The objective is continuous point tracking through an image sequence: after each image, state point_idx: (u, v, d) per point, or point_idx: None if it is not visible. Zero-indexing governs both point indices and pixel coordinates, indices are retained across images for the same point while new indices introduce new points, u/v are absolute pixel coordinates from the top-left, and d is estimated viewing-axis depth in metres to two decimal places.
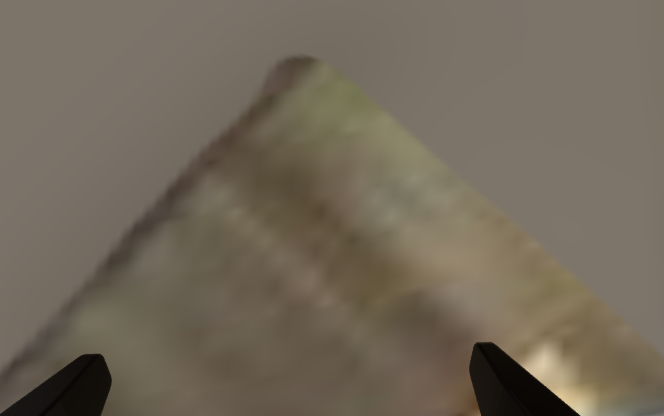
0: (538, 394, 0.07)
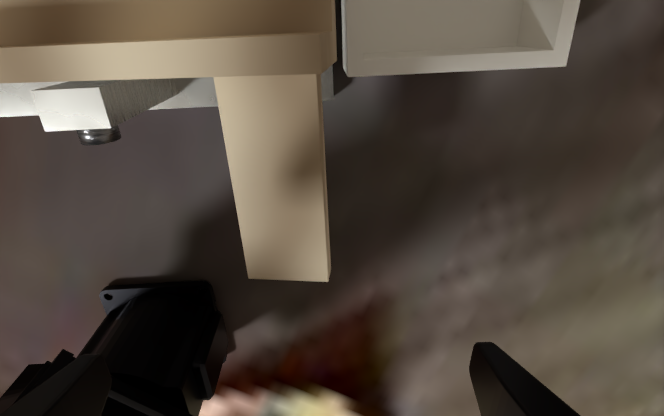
0: (538, 394, 0.07)
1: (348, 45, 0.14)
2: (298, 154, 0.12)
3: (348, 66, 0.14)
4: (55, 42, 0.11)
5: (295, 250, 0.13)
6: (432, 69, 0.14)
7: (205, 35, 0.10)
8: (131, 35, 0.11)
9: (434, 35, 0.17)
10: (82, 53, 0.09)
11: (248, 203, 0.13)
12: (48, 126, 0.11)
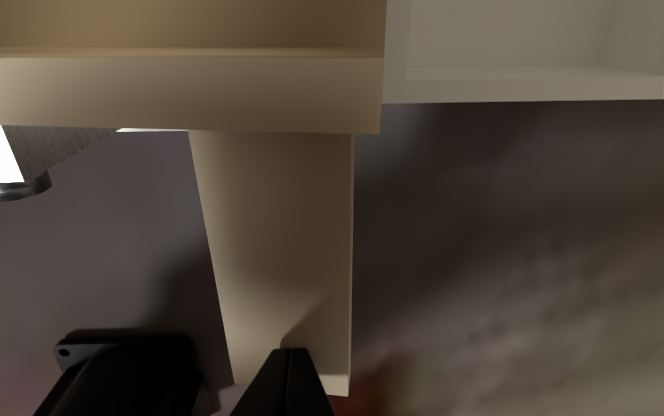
0: (312, 402, 0.07)
1: (385, 60, 0.10)
2: (314, 231, 0.07)
3: (383, 89, 0.10)
4: None
5: None
6: (499, 96, 0.10)
7: (170, 44, 0.06)
8: (50, 39, 0.06)
9: (491, 47, 0.13)
10: None
11: (236, 291, 0.08)
12: None
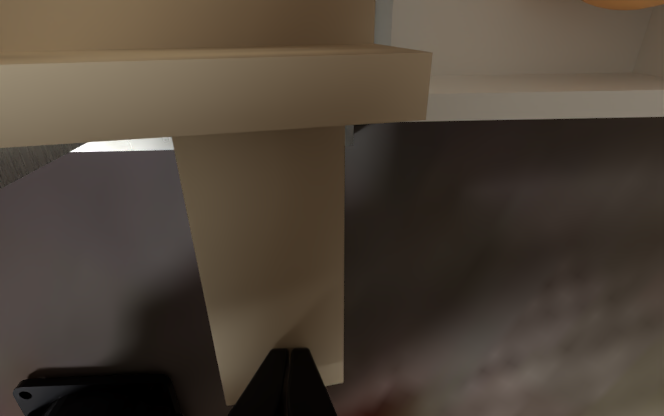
0: (313, 402, 0.07)
1: None
2: (311, 227, 0.08)
3: None
4: None
5: None
6: (529, 113, 0.08)
7: (152, 46, 0.06)
8: None
9: (512, 52, 0.11)
10: None
11: (228, 305, 0.08)
12: None
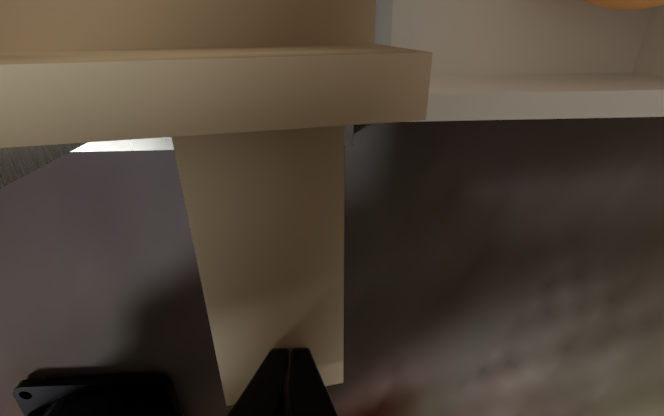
0: (314, 402, 0.07)
1: None
2: (311, 227, 0.08)
3: None
4: None
5: None
6: (528, 113, 0.08)
7: (152, 46, 0.06)
8: None
9: (512, 52, 0.11)
10: None
11: (228, 305, 0.08)
12: None
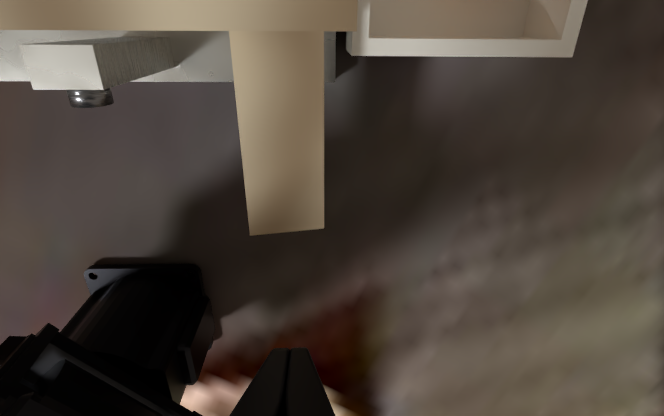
0: (312, 402, 0.07)
1: None
2: (304, 111, 0.13)
3: (352, 44, 0.14)
4: None
5: (296, 202, 0.15)
6: (438, 52, 0.14)
7: None
8: None
9: (440, 21, 0.16)
10: (132, 2, 0.09)
11: (255, 160, 0.14)
12: (37, 84, 0.11)
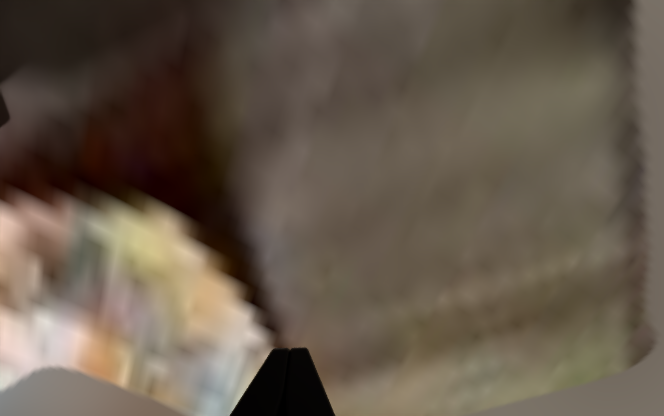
0: (312, 402, 0.07)
1: None
2: None
3: None
4: None
5: None
6: None
7: None
8: None
9: None
10: None
11: None
12: None
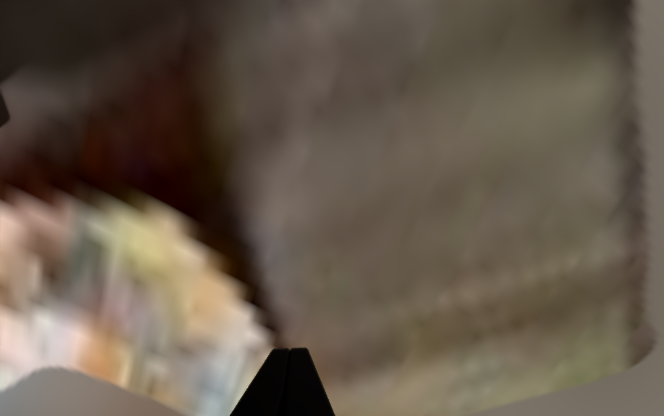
0: (312, 402, 0.07)
1: None
2: None
3: None
4: None
5: None
6: None
7: None
8: None
9: None
10: None
11: None
12: None
